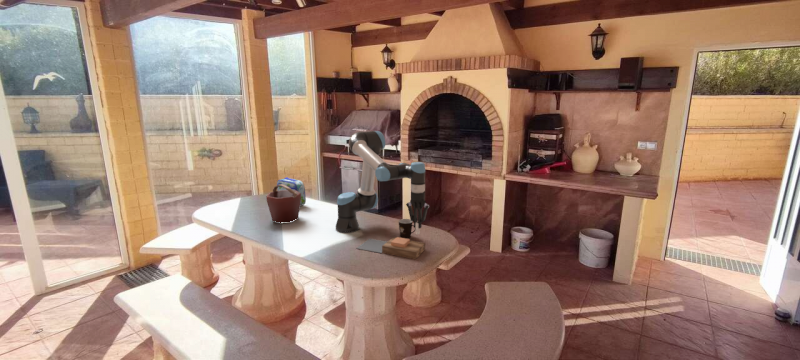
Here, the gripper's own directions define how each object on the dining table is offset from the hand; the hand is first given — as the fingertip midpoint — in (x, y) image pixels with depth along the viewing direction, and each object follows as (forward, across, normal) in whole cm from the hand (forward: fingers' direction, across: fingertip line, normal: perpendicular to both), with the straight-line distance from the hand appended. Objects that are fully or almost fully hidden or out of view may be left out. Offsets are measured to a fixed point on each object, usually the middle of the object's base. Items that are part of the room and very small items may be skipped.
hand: (417, 233), depth 208 cm
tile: (+8, -10, 0) cm, 13 cm away
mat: (+12, -26, 0) cm, 29 cm away
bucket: (+11, -106, +15) cm, 107 cm away
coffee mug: (+12, -15, +20) cm, 28 cm away
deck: (+12, -8, 0) cm, 14 cm away
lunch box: (+10, -126, +48) cm, 135 cm away
